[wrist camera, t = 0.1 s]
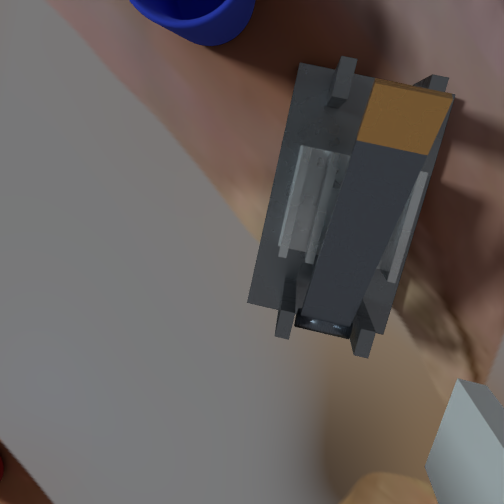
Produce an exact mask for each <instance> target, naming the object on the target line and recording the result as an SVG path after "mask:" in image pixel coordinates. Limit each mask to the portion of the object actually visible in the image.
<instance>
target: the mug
mask: <svg viewBox="0 0 504 504" xmlns="http://www.w3.org/2000/svg"><path fill="white" fill-rule="evenodd" d="M129 1H130V2H131V3H132V4H133V5H134V7H135V8H136V9H137V10H138V11H139V12H140V13H142V14H143V15H144V16H145V17H147V18H148V19H150V20H151V21H153V22H155V23H157V24H159V25H161V26H162V27H164V28H166V29H168V30H170V31H172V32H174V33H176V34H178V35H179V36H181V37H183V38H185V39H187V40H189V41H191V42H193V43H196V44H199V45H204V46H215V45H220V44H224V43H226V42H228V41H230V40H232V39H234V38H235V37H236V36H238V35H239V34H240V33H241V32H242V31H243V29H244V28H245V27H246V25H247V24H248V22H249V20H250V18H251V15H252V13H253V10H254V5H255V0H129Z"/></svg>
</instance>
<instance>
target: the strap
mask: <svg viewBox="0 0 504 504" xmlns="http://www.w3.org/2000/svg"><path fill="white" fill-rule="evenodd" d="M452 101H453V97H452V94H451V93H446V92H441V91H436V90H431V89H427V88H422V87H417V86H412V85H407V84H402V83H398V82H393V81H388V80H383V79H378V78H375V80H374V83H373V86H372V89H371V92H370V95H369V99H368V102H367V105H366V108H365V111H364V114H363V117H362V120H361V124H360V127H359V130H358V133H357V136H356V139H355V142H354V146H353V149H352V152H351V155H350V158H349V161H348V164H347V168H346V171H345V174H344V177H343V180H342V183H341V186H340V189H339V193H338V196H337V199H336V202H335V205H334V208H333V211H332V215H331V218H330V221H329V224H328V227H327V230H326V233H325V237H324V240H323V243H322V246H321V249H320V252H319V255H318V258H317V262H316V265H315V268H314V271H313V274H312V277H311V280H310V284H309V287H308V290H307V293H306V296H305V299H304V302H303V306H302V308H298V310H297V314H296V318H295V324H294V326H295V327H299V328H303V329H307V330H311V331H316V332H320V333H324V334H328V335H333V336H337V337H341V338H346V339H349V338H350V336H351V333H352V328H353V319H354V317H355V314H356V312H357V310H358V308H359V306H360V303H361V301H362V299H363V297H364V295H365V292H366V290H367V288H368V286H369V284H370V281H371V279H372V277H373V275H374V273H375V270H376V268H377V266H378V264H379V262H380V259H381V257H382V255H383V253H384V251H385V248H386V246H387V244H388V242H389V240H390V237H391V235H392V233H393V231H394V228H395V226H396V224H397V222H398V220H399V217H400V215H401V213H402V211H403V209H404V206H405V204H406V202H407V200H408V198H409V195H410V193H411V191H412V189H413V187H414V184H415V182H416V180H417V178H418V176H419V173H420V171H421V169H422V167H423V165H424V162H425V160H426V158H427V156H428V154H429V151H430V149H431V147H432V145H433V143H434V140H435V138H436V136H437V134H438V132H439V129H440V127H441V125H442V123H443V121H444V118H445V116H446V114H447V112H448V109H449V107H450V105H451V103H452Z"/></svg>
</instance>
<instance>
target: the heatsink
mask: <svg viewBox="0 0 504 504" xmlns="http://www.w3.org/2000/svg"><path fill="white" fill-rule="evenodd" d="M356 63H357V59H355V58H350V57H345V56H341V58H340V60H339V62H338V65H337V67H336V69H335V70H334V69H329V68H324V67H320V66H315V65H310V64H305V63H300V64H299V68H298V73H297V78H296V82H295V87H294V91H293V96H292V100H291V105H290V109H289V114H288V119H287V123H286V128H285V132H284V137H283V141H282V146H281V151H280V155H279V160H278V164H277V169H276V173H275V178H274V182H273V187H272V192H271V196H270V201H269V205H268V210H267V214H266V219H265V223H264V228H263V233H262V237H261V242H260V246H259V251H258V255H257V260H256V265H255V269H254V274H253V278H252V283H251V287H250V292H249V297H248V301H247V303H251V304H255V305H259V306H263V307H268V308H272V309H276V310H278V316H277V323H276V330H275V336H276V337H281V338H284V339H289V336H290V332H291V328H292V324H293V319H294V316H295V314H297V310H298V308H302V306H303V302H304V299H305V296H306V293H307V290H308V287H309V284H310V280H311V277H312V274H313V271H314V268H315V265H316V262H317V258H318V255H319V252H320V249H321V246H322V243H323V240H324V237H325V233H326V230H327V227H328V224H329V221H330V218H331V215H332V211H333V208H334V205H335V202H336V199H337V196H338V193H339V189H340V186H341V183H342V180H343V177H344V174H345V171H346V168H347V164H348V161H349V158H350V155H351V152H352V149H353V146H354V142H355V139H356V136H357V133H358V130H359V127H360V124H361V120H362V117H363V114H364V111H365V108H366V105H367V102H368V99H369V95H370V92H371V89H372V86H373V83H374V80H375V78H373V77H368V76H363V75H358V74H354V71H355V67H356ZM448 80H449V78H448V77H443V76H438V75H433V74H432V75H431V76H429V77H427V78H425V79H423V80H421V81H419V82H417V83H415V84H414V85H412V86H417V87H422V88H427V89H431V90H436V91H441V92H445V90H446V87H447V83H448ZM452 97H453V101H454V98H455V94H452ZM453 101H452V103H451V105H450V107H449V109H448V112H447V114H446V116H445V118H444V121H443V123H442V125H441V127H440V129H439V132H438V134H437V136H436V138H435V140H434V143H433V145H432V147H431V149H430V151H429V154H428V156H427V158H426V160H425V162H424V165H423V167H422V169H421V171H420V173H419V176H418V178H417V180H416V182H415V184H414V187H413V189H412V191H411V193H410V195H409V198H408V200H407V202H406V204H405V206H404V209H403V211H402V213H401V215H400V217H399V220H398V222H397V224H396V226H395V228H394V231H393V233H392V235H391V237H390V240H389V242H388V244H387V246H386V248H385V251H384V253H383V255H382V257H381V259H380V262H379V264H378V266H377V268H376V270H375V273H374V275H373V277H372V279H371V281H370V284H369V286H368V288H367V290H366V292H365V295H364V297H363V299H362V301H361V303H360V306H359V308H358V310H357V312H356V314H355V317H354V319H353V328H352V333H351V336H350V342H351V346H352V350H353V354H354V355H355V356H360V357H364V358H368V357H369V353H370V350H371V346H372V343H373V340H374V336H375V333H378V334H384V330H385V327H386V324H387V320H388V317H389V314H390V310H391V307H392V304H393V300H394V297H395V294H396V291H397V287H398V284H399V281H400V277H401V274H402V271H403V267H404V264H405V261H406V257H407V254H408V251H409V247H410V244H411V241H412V237H413V234H414V231H415V227H416V224H417V221H418V218H419V214H420V211H421V208H422V204H423V201H424V198H425V194H426V191H427V188H428V184H429V181H430V178H431V174H432V171H433V168H434V164H435V161H436V158H437V154H438V151H439V148H440V145H441V141H442V138H443V135H444V131H445V128H446V125H447V121H448V118H449V115H450V111H451V108H452V105H453Z"/></svg>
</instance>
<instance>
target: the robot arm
mask: <svg viewBox="0 0 504 504" xmlns="http://www.w3.org/2000/svg"><path fill="white" fill-rule="evenodd" d="M425 469H426V471H427V474H428V477H429V479H430V482H431V485H432V487H433V490H434V493H435V495H436V498H437V501H438V503H439V504H504V408H503V406H502V405H501V404H500V402H499V401H498V400H497V398H496V397H495V396H494V395H493V393H492V392H491V391H490V389H489V388H488V387H487V386H486V385H482V384H478V383H474V382H470V381H466V380H462V379H457V381H456V384H455V387H454V389H453V392H452V395H451V397H450V400H449V403H448V405H447V408H446V411H445V414H444V416H443V419H442V422H441V424H440V427H439V430H438V432H437V435H436V438H435V441H434V443H433V446H432V449H431V451H430V454H429V457H428V459H427V462H426V465H425Z"/></svg>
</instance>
